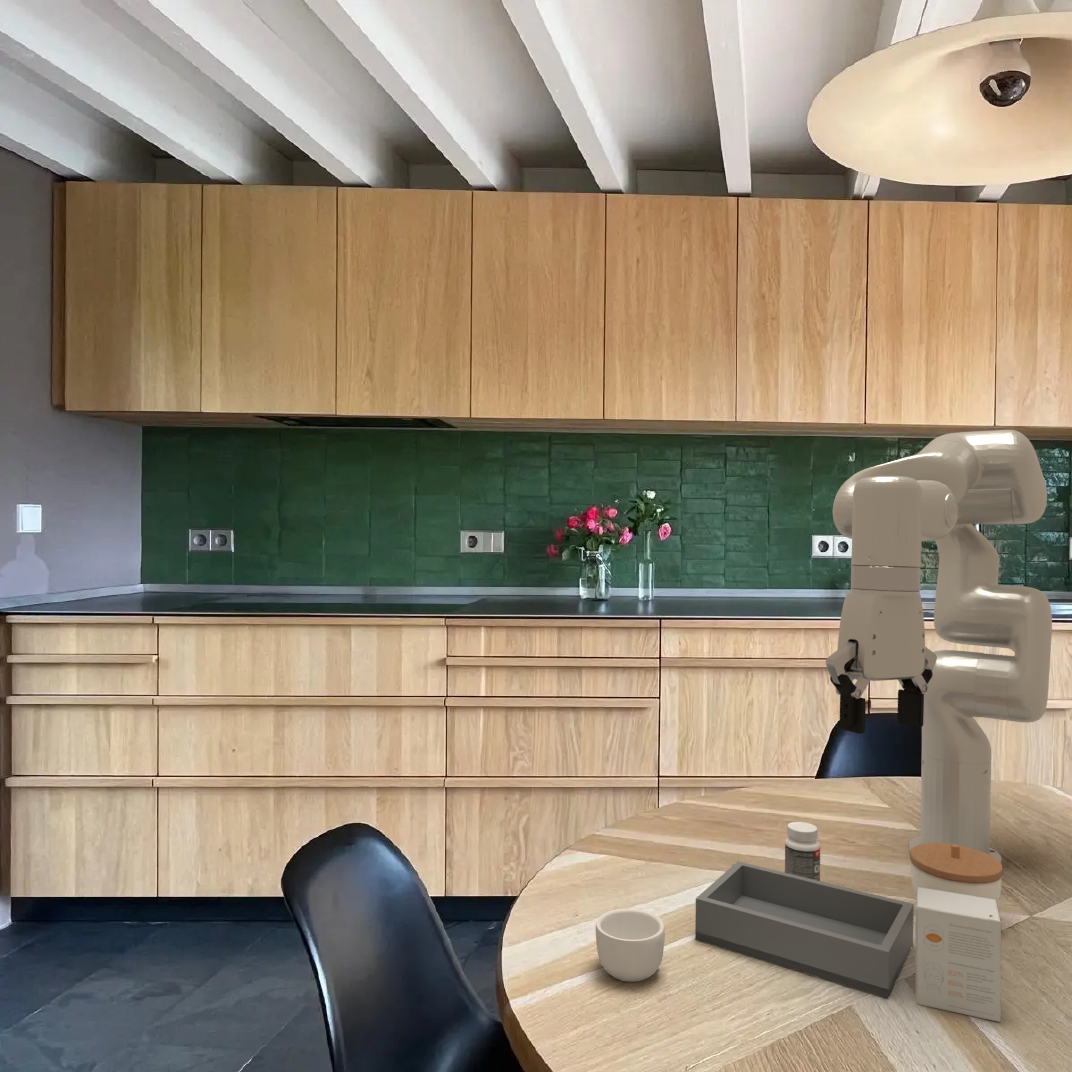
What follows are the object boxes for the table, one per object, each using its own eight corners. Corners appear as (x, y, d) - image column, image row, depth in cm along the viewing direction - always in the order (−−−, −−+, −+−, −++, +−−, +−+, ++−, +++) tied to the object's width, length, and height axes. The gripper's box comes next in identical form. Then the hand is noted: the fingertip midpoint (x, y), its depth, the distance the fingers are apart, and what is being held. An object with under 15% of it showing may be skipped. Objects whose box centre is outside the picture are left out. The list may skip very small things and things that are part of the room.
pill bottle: (822, 895, 114) (822, 834, 114) (786, 891, 115) (786, 831, 115) (817, 880, 118) (818, 822, 118) (782, 877, 119) (783, 819, 119)
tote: (737, 897, 113) (737, 861, 113) (913, 945, 100) (913, 904, 100) (695, 939, 101) (695, 898, 101) (887, 998, 89) (888, 952, 89)
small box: (996, 996, 89) (998, 898, 89) (1001, 1024, 84) (1002, 921, 84) (914, 978, 93) (916, 884, 93) (914, 1004, 88) (915, 905, 88)
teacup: (639, 999, 88) (640, 948, 88) (581, 973, 93) (581, 925, 93) (686, 962, 96) (687, 915, 96) (630, 940, 101) (631, 896, 101)
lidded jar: (901, 922, 106) (902, 849, 106) (917, 892, 115) (918, 824, 115) (997, 946, 100) (998, 869, 100) (1005, 913, 109) (1006, 841, 109)
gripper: (908, 581, 105) (905, 717, 105) (806, 579, 97) (803, 727, 97) (962, 584, 98) (959, 729, 98) (858, 583, 90) (854, 741, 90)
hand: (881, 728), depth 97 cm, fingers open, 9 cm apart
